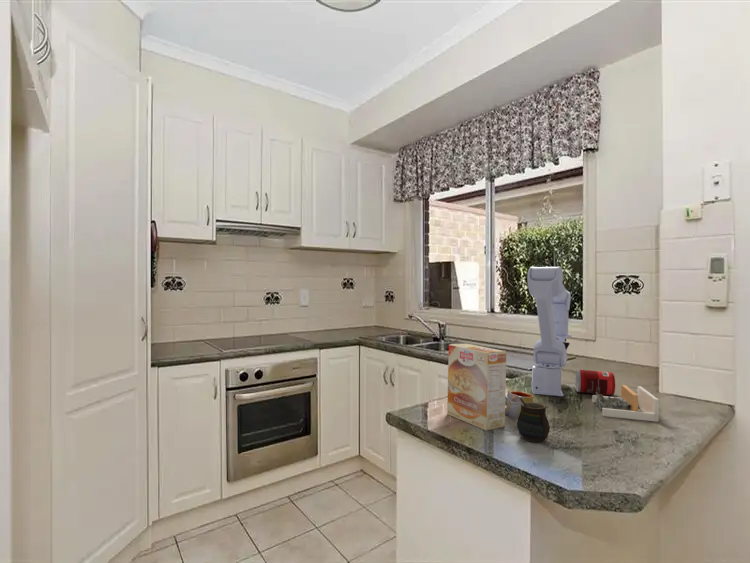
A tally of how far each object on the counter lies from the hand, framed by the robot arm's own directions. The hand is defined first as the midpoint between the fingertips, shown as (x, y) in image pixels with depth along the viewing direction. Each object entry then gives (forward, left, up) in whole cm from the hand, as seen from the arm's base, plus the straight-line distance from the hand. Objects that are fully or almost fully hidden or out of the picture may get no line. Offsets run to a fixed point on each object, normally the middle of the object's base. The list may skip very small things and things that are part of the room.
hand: (559, 359), depth 154 cm
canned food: (+16, -9, -6) cm, 19 cm away
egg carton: (+12, -28, -10) cm, 32 cm away
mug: (-17, -45, -10) cm, 49 cm away
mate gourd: (-12, -62, -10) cm, 64 cm away
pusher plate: (+16, -28, -9) cm, 34 cm away
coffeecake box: (-26, -53, -10) cm, 60 cm away
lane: (+14, -28, -9) cm, 33 cm away
